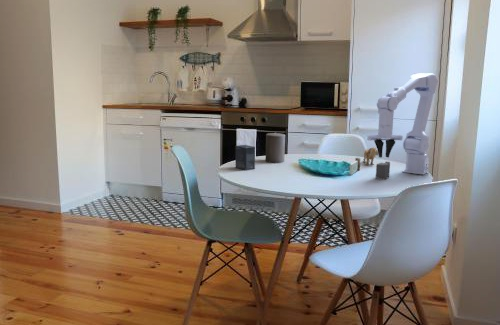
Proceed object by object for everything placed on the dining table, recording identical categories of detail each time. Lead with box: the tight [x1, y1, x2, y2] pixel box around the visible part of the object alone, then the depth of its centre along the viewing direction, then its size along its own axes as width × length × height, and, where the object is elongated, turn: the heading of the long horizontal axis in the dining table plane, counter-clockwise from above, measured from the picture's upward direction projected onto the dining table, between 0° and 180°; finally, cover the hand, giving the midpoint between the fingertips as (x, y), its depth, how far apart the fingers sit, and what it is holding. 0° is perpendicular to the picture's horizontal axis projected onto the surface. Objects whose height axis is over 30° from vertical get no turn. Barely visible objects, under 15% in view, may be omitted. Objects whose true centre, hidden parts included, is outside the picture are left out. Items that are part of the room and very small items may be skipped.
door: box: [347, 160, 358, 175], centre depth 211 cm, size 10×2×4 cm, turn 154°
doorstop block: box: [375, 162, 391, 180], centre depth 201 cm, size 4×5×6 cm
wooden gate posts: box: [354, 157, 391, 172], centre depth 212 cm, size 16×2×6 cm, turn 54°
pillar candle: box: [265, 131, 286, 164], centre depth 236 cm, size 10×10×15 cm
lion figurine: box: [362, 146, 379, 166], centre depth 233 cm, size 15×5×9 cm, turn 8°
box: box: [235, 144, 256, 171], centre depth 218 cm, size 8×6×11 cm
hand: (383, 157), depth 200 cm, fingers open, 2 cm apart
